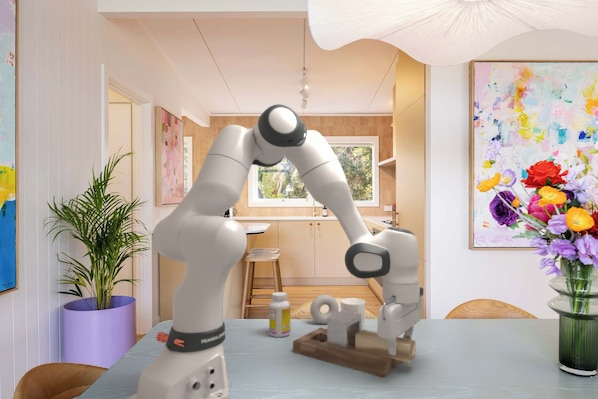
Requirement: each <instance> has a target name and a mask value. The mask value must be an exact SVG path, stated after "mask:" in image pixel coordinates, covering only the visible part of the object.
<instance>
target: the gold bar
mask: <svg viewBox="0 0 598 399" xmlns="http://www.w3.org/2000/svg"><path fill="white" fill-rule="evenodd" d="M396 346H398V353H397V354H396V355H391V354H389V352H388V345H387V342H386V340H383V339H380V338H379V337H378V334H377V331H373V330H368V329H364V330H361V331H360V332H358V333H356V334H355V349H356V350H360V351H364V352H368V353H372V354H376V355H380V356H384V357H388V358H392V359H396V360H400V361H401V362H404V363H408V364H409V363H411V362H412V361H413V360H414V359H415V358H416V350H417V349H416V347H417V346H416V340H414V339H412V340H410V339H405V338H403V337H400V336H398V337H397V340H396Z"/></svg>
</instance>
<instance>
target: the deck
mask: <svg viewBox="0 0 598 399" xmlns="http://www.w3.org/2000/svg"><path fill="white" fill-rule="evenodd" d="M292 353H296V354H300V355H303V356H306V357H310V358H313V359H318V360H321V361H324V362H326V363H332V364H335V365H338V366H341V367H345V368H348V369H352V370H355V371H359V372H363V373H366V374H369V375H372V376H373V375H374V376H377V377H379V378H385V377H386V376H388V374H389V373H391V372H392V371H393V370H394V369H395V368H397V366H398V365H399V364H401V363H402V361H400V360H396V359H392V358H388V357H384V356H380V355H376V354H372V353H368V352H364V351H360V350H356V349H355V341H352V340H349V349H348V350H343V349H339V348H335V347H331V346H328V345H327V328H323V327H319V328H317V329H315V330H312V331H310V332H309V333H307V334H305V335H303V336H301V337H298V338H296V339H294V340H293V341H292Z"/></svg>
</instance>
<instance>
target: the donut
mask: <svg viewBox="0 0 598 399" xmlns="http://www.w3.org/2000/svg"><path fill="white" fill-rule="evenodd" d="M325 305H326V306H327V307H328V311H327V312H326V313H322V312H321V308H322V306H325ZM309 310H310V316H311V317H312V319H313V321H315V322H316V323H319V324H322V325H327V318H328V317H330V316H332V315H334V314H336V313H338V312H339V304H338V301H337V300H336V299H335V298H334V297H333V296H332V295H329V294H320V295H318V296H316V297H315V298H314V299H313V300H312V302H311V304H310V309H309Z"/></svg>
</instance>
